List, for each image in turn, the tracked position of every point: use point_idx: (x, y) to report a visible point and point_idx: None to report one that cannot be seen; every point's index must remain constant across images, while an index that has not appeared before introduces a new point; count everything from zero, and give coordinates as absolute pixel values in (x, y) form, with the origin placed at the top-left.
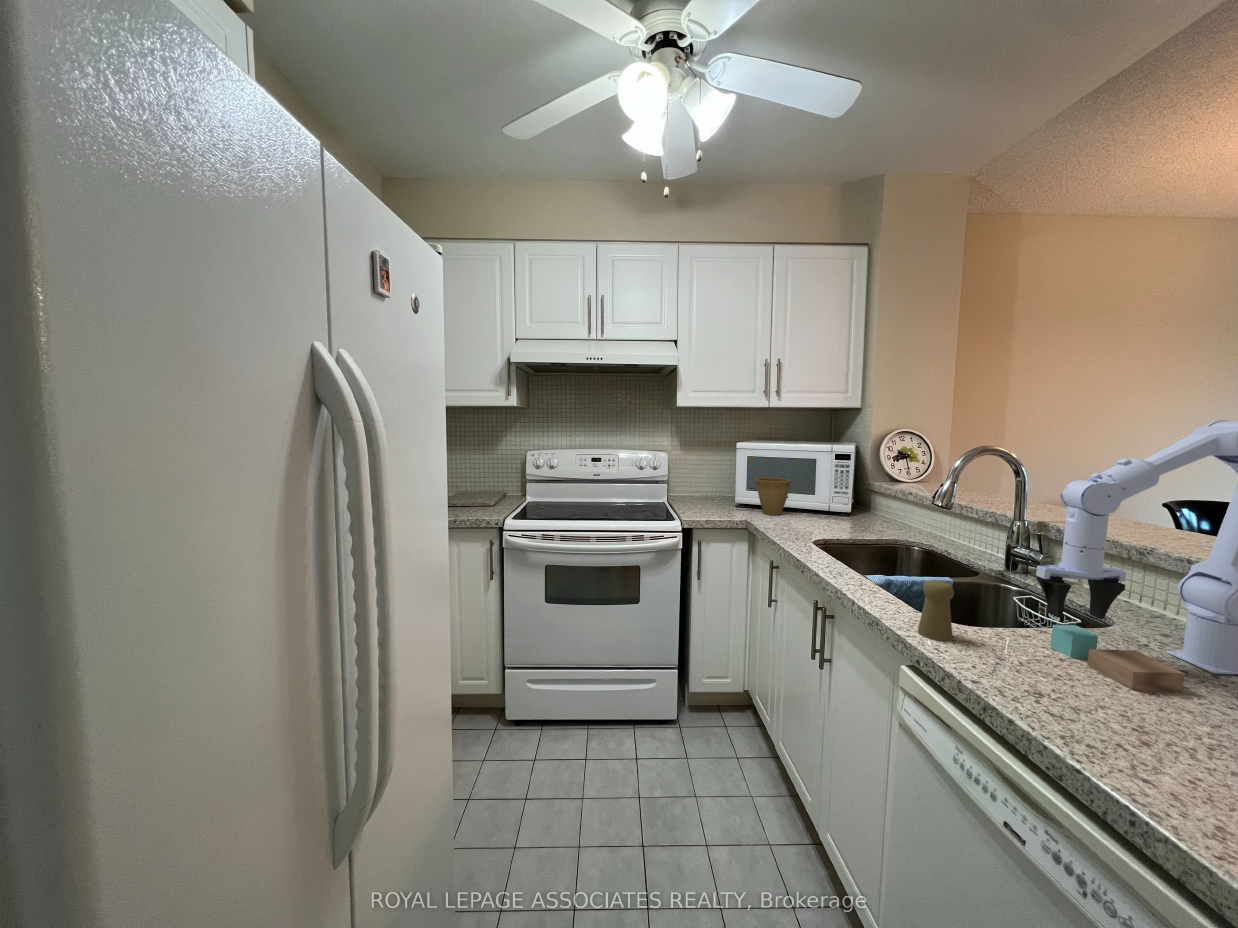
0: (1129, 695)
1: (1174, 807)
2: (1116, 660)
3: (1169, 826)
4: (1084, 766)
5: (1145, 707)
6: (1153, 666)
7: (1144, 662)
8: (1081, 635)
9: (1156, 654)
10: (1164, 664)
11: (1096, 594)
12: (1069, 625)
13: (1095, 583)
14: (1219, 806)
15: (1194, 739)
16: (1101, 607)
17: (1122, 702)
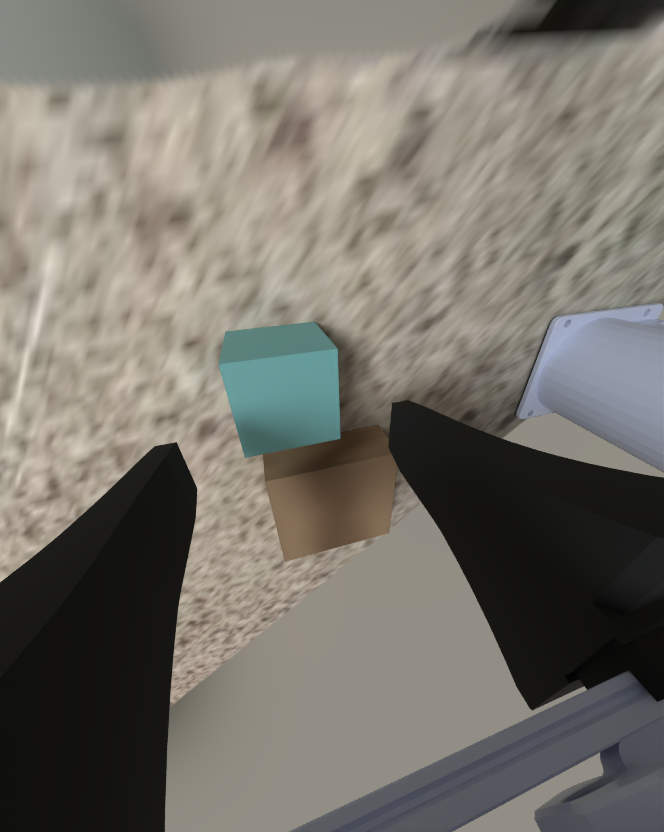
0: (259, 543)
1: None
2: (290, 525)
3: None
4: None
5: (257, 568)
6: (354, 525)
7: (353, 512)
8: (279, 449)
9: (517, 328)
10: (389, 507)
11: (475, 505)
12: (301, 356)
13: (561, 576)
14: (190, 686)
15: (261, 611)
16: (419, 487)
17: (227, 568)
